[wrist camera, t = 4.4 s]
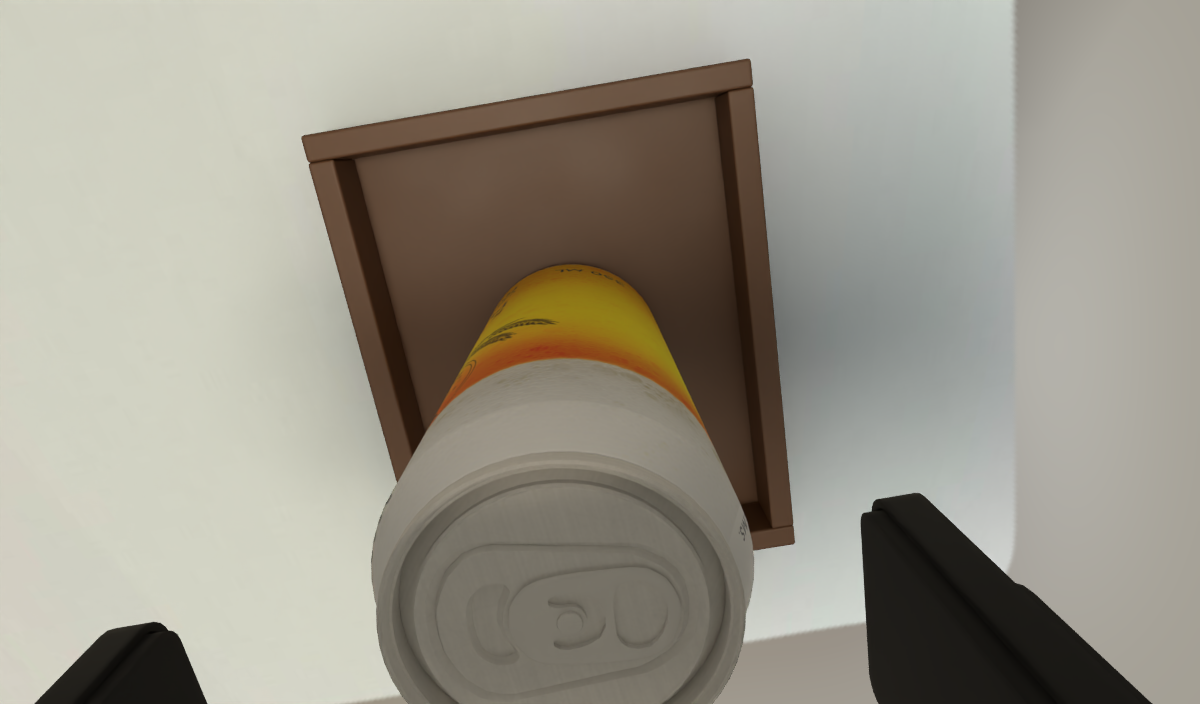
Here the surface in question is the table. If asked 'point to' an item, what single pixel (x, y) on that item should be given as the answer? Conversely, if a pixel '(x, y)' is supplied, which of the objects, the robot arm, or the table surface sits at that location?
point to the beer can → (564, 518)
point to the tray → (569, 246)
